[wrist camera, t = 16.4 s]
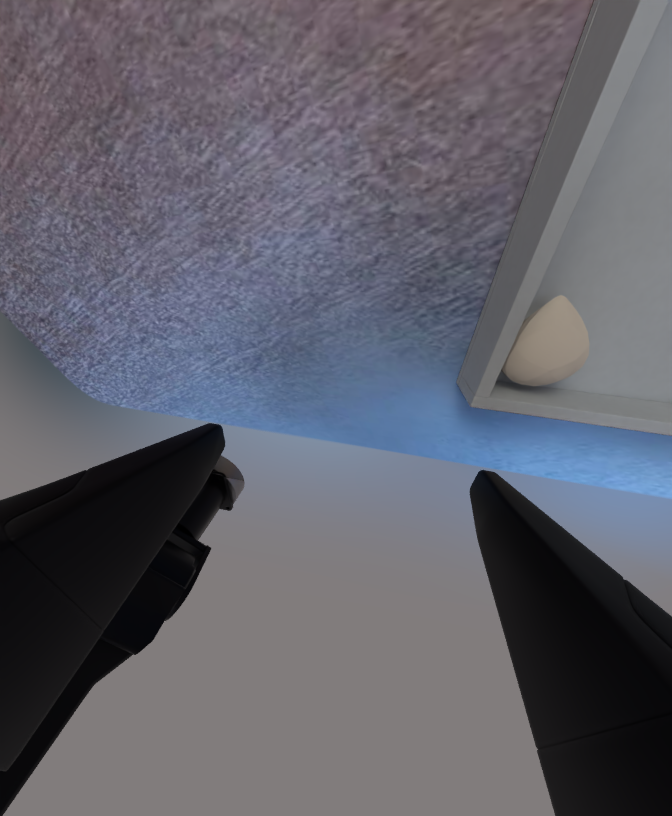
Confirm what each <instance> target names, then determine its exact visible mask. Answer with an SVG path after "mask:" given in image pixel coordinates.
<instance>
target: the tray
mask: <svg viewBox="0 0 672 816" xmlns="http://www.w3.org/2000/svg"><path fill="white" fill-rule="evenodd" d="M560 295H562V296H565V297H566V298H567V299H568V300H569V302H570V303H571V304H572V305H573V306H574V308H575V309H576V310H577V312H578V314H579V315H580V317H581V318H582V320H583V322H584V324H585V327H586V329H587V331H588V337H589V356H588V357H587V359H586V361H585V363H584V365H583V367H581V368H580V369H579V370H578V371H577V372H575V373H574V374H573V375H571V376H569V377H568V378H566V379H563V380H560V381H557V382H555V383H552V384H548V385H540V386H529V385H522V384H519V383H516V382H514V381H512V380H510V379H509V378H508V377H507V376H506V375H505V374H504V373H503V372H502V371H501V369H502V367H503V365H504V363H505V361H506V358H507V356H508V354H509V352H510V350H511V347H512V345H513V343H514V341H515V339H516V336H517V334H518V332H519V330H520V328H521V325H522V323H523V321H524V320H525V319H526V318H528V317H529V316H530V315H532V314H533V313H534V312H535V311H537V310H538V309H540V308H541V307H542V306H544V305H545V304H547V303H548V302H549V301H551V300H552V299H554V298H555V297H557V296H560ZM456 383H457V385H458V387H459V388H460V390H461V392H462V394H463V395H464V397H465V399H466V400H467V402H468V404H469V406H470V407H474V408H481V409H488V410H495V411H502V412H509V413H516V414H523V415H530V416H537V417H544V418H551V419H558V420H565V421H572V422H579V423H586V424H593V425H600V426H607V427H614V428H621V429H628V430H635V431H642V432H649V433H656V434H662V435H669V436H672V0H594V2H593V5H592V8H591V11H590V13H589V16H588V19H587V22H586V25H585V27H584V30H583V33H582V36H581V38H580V41H579V44H578V47H577V49H576V52H575V55H574V58H573V60H572V63H571V66H570V69H569V72H568V74H567V77H566V80H565V83H564V85H563V88H562V91H561V94H560V96H559V99H558V102H557V105H556V107H555V110H554V113H553V116H552V119H551V121H550V124H549V127H548V130H547V132H546V135H545V138H544V141H543V143H542V146H541V149H540V152H539V154H538V157H537V160H536V163H535V166H534V168H533V171H532V174H531V177H530V179H529V182H528V185H527V188H526V190H525V193H524V196H523V199H522V201H521V204H520V207H519V210H518V213H517V215H516V218H515V221H514V224H513V226H512V229H511V232H510V235H509V237H508V240H507V243H506V246H505V248H504V251H503V254H502V257H501V260H500V262H499V265H498V268H497V271H496V273H495V276H494V279H493V282H492V284H491V287H490V290H489V293H488V295H487V298H486V301H485V304H484V307H483V309H482V312H481V315H480V318H479V320H478V323H477V326H476V329H475V331H474V334H473V337H472V340H471V342H470V345H469V348H468V351H467V354H466V356H465V359H464V362H463V365H462V367H461V370H460V373H459V376H458V378H457V381H456Z"/></svg>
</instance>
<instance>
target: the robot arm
mask: <svg viewBox="0 0 672 816" xmlns="http://www.w3.org/2000/svg"><path fill="white" fill-rule="evenodd" d="M224 447H225V439H224V435H223V429H222V427H221V425H218V424H212V423H209V424H206V425H203V426H200V427H198V428H195V429H192V430H190V431H187V432H185V433H182V434H179V435H177V436H174V437H171V438H169V439H166V440H163V441H161V442H159V443H156V444H153V445H151V446H148V447H145V448H143V449H140V450H137V451H135V452H132V453H129V454H127V455H124V456H122V457H119V458H116V459H114V460H111V461H108V462H106V463H103V464H100V465H98V466H95V467H92V468H90V469H88V470H87V471H86V470H84V471H82V472H79V473H76V474H74V475H71V476H69V477H66V478H63V479H60V480H58V481H55V482H52V483H50V484H47V485H44V486H41V487H38V488H36V489H33V490H30V491H27V492H24V493H21V494H18V495H15V496H12V497H9V498H6V499H3V500H0V816H3V814H4V813H5V811H6V810H7V808H8V807H9V805H10V804H11V803H12V801H13V800H14V798H15V797H16V795H17V794H18V793H19V791H20V790H21V788H22V787H23V785H24V784H25V782H26V781H27V780H28V778H29V777H30V775H31V774H32V773H33V771H34V770H35V768H36V767H37V765H38V764H39V762H40V761H41V760H42V758H43V757H44V755H45V754H46V752H47V751H48V750H49V748H50V747H51V745H52V744H53V742H54V741H55V740H56V738H57V737H58V735H59V734H60V732H61V731H62V729H63V728H64V727H65V725H66V724H67V722H68V721H69V719H70V718H71V717H72V715H73V714H74V712H75V711H76V709H77V708H78V706H79V705H80V704H81V702H82V701H83V699H84V698H85V697H86V695H87V694H88V692H89V691H90V690H91V688H92V687H93V686H94V685H95V684H96V683H97V682H98V681H99V680H101V679H102V678H103V677H105V676H106V675H107V674H108V673H110V672H111V671H112V670H114V669H115V668H116V667H118V666H119V665H120V664H121V663H123V662H124V661H125V660H127V659H128V658H129V657H130V656H132V655H133V654H134V655H136V654H138V653H139V652H140V651H141V650H143V649H144V648H145V647H146V646H147V645H148V644H149V643H151V642H152V641H153V639H154V638H155V636H156V634H157V633H158V631H159V629H160V627H161V626H162V624H163V622H164V621H166V620H168V619H169V618H171V616H173V614H174V613H175V612H176V611H177V610H178V609H179V607H180V606H181V605H182V603H183V602H184V600H185V598H186V597H187V596H188V594H189V592H190V591H191V589H192V587H193V585H194V583H195V581H196V579H197V577H198V575H199V573H200V571H201V569H202V567H203V565H204V563H205V561H206V558H207V556H208V554H209V552H210V550H211V548H210V547H209V546H205V545H204V544H202V543H201V542H199V541H198V539H199V538H200V537H201V535H202V533H203V532H204V531H205V529H206V528H207V526H208V525H209V523H210V522H211V520H212V519H213V517H214V516H215V514H216V513H217V511H218V510H219V509H223V510H228V511H230V510H232V508H233V504H232V499H231V495H230V491H229V487H228V482H227V478H226V475H225V474H224V473H222V472H217V471H212V470H213V468H214V466H215V464H216V463H217V461H218V459H219V457H220V455H221V453H222V451H223V450H224ZM470 498H471V504H472V510H473V516H474V521H475V528H476V533H477V538H478V543H479V546H480V549H481V554H482V557H483V561H484V564H485V568H486V571H487V574H488V578H489V582H490V585H491V589H492V592H493V596H494V599H495V603H496V607H497V610H498V613H499V617H500V621H501V624H502V628H503V631H504V635H505V638H506V642H507V646H508V649H509V652H510V656H511V660H512V663H513V667H514V670H515V673H516V677H517V681H518V684H519V688H520V691H521V695H522V699H523V702H524V705H525V709H526V713H527V716H528V720H529V723H530V727H531V730H532V734H533V738H534V741H535V745H536V747H537V749H538V750H537V753H538V756H539V759H540V763H541V767H542V770H543V774H544V777H545V781H546V784H547V788H548V791H549V795H550V799H551V802H552V806H553V809H554V813H555V816H672V617H671V616H670V615H669V614H668V613H666V612H665V611H664V610H663V609H662V608H660V607H659V606H658V605H657V604H655V603H654V602H653V601H652V600H650V599H649V598H648V597H647V596H645V595H644V594H643V593H642V592H641V591H639V590H638V589H637V588H636V587H635V586H633V585H632V584H631V583H630V582H628V581H627V580H624V579H623V577H622V576H621V575H620V574H618V573H617V572H616V571H615V570H614V569H612V568H611V567H610V566H609V565H608V564H606V563H605V562H604V561H603V560H601V559H600V558H599V557H598V556H597V555H595V554H594V553H593V552H592V551H590V550H589V549H588V548H587V547H586V546H584V545H583V544H582V543H581V542H579V541H578V540H577V539H576V538H574V537H573V536H572V535H570V533H568V532H567V531H566V530H565V529H564V528H562V527H561V526H560V525H559V524H557V523H556V522H555V521H554V520H552V519H551V518H550V517H549V516H548V515H546V514H545V513H544V512H543V511H542V510H540V509H539V508H538V507H537V506H535V505H534V504H533V503H532V502H531V501H529V500H528V499H527V498H526V497H524V496H523V495H522V494H521V493H519V492H518V491H517V490H516V489H515V488H513V487H512V486H511V485H510V484H508V483H507V482H506V481H505V480H504V479H502V478H501V477H500V476H499V475H498V474H496V473H495V472H491V471H485V470H481V471H479V472H478V474H477V476H476V478H475V480H474V482H473V483H472V486H471V488H470Z"/></svg>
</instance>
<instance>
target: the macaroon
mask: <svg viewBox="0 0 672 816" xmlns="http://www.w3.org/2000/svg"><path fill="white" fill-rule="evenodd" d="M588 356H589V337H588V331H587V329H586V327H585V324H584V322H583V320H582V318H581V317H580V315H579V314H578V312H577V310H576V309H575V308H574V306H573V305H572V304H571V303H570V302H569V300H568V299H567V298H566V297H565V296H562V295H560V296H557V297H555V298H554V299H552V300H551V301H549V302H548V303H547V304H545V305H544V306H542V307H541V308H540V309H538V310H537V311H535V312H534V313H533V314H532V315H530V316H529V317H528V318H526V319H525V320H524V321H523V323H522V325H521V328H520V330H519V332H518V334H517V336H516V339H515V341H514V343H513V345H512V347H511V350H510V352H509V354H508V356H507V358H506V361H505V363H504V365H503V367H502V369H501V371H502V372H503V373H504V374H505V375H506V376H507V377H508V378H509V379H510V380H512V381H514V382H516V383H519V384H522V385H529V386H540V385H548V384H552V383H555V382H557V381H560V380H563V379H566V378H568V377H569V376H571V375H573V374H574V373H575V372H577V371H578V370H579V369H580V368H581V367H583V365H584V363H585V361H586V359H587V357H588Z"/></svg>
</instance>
